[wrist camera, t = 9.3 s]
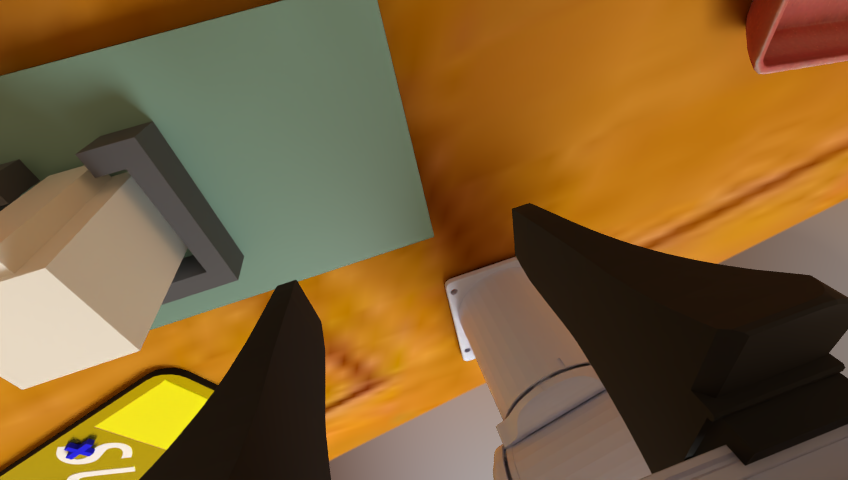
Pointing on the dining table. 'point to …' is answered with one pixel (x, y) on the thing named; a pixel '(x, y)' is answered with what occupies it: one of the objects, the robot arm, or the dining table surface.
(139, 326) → the keyed plug
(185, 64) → the board
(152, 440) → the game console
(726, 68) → the dining table surface
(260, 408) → the robot arm
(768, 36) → the plant saucer
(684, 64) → the dining table surface
